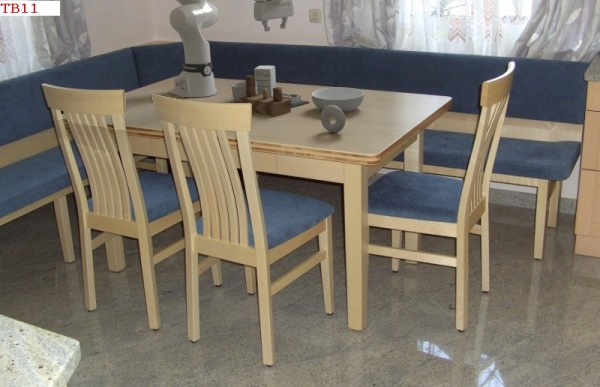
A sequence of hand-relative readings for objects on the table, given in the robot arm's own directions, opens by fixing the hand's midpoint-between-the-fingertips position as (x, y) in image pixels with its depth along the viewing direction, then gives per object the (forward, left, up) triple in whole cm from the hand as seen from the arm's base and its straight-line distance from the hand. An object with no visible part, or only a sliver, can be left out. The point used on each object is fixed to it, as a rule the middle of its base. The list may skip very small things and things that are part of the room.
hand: (275, 29), depth 303 cm
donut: (+52, -26, -29) cm, 65 cm away
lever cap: (+9, -3, -28) cm, 30 cm away
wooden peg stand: (+9, -17, -29) cm, 35 cm away
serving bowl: (+32, +1, -29) cm, 43 cm away
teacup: (-9, -10, -29) cm, 32 cm away
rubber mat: (+9, -3, -29) cm, 31 cm away
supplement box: (-9, +2, -29) cm, 31 cm away
